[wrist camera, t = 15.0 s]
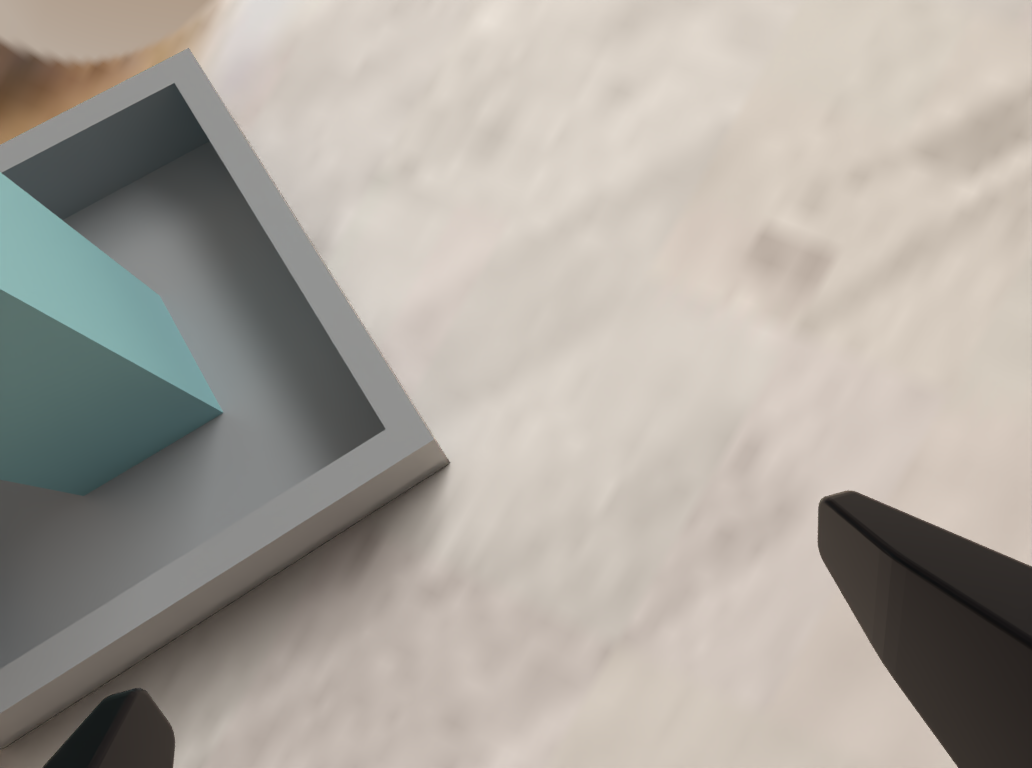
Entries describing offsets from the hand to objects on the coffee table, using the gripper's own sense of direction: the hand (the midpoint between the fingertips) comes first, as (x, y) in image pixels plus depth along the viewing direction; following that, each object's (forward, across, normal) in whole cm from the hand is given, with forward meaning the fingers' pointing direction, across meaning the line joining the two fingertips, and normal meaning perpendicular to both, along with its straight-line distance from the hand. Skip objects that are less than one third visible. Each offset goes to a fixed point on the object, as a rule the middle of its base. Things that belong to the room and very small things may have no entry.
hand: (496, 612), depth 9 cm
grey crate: (+16, +11, +3) cm, 20 cm away
